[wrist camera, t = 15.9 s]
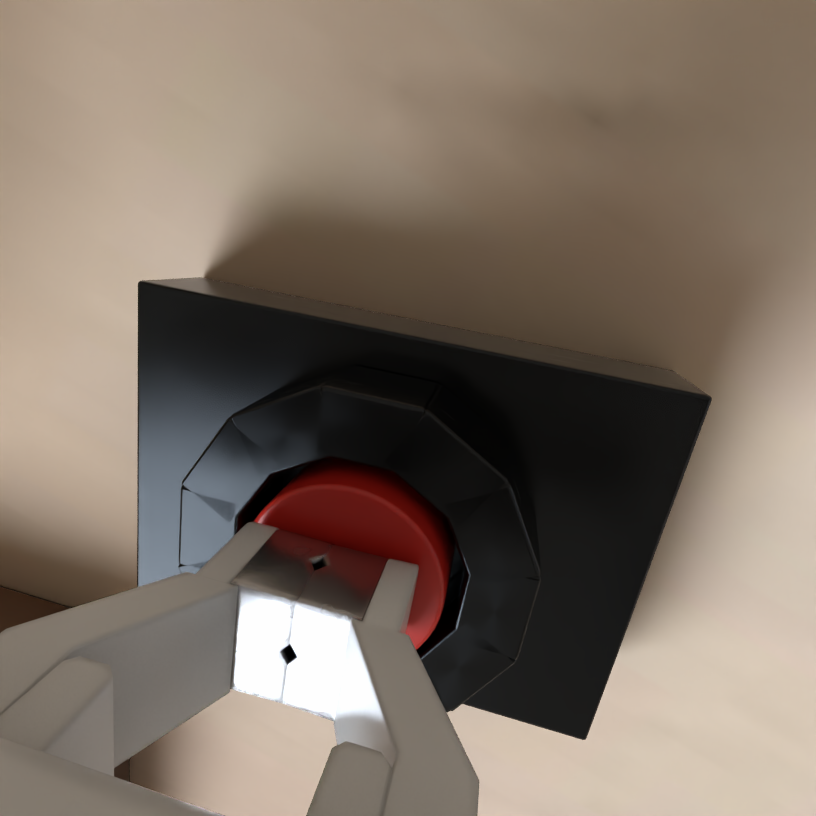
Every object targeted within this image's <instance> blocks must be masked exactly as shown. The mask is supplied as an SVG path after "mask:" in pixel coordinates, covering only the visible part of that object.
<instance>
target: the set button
mask: <svg viewBox="0 0 816 816" xmlns="http://www.w3.org/2000/svg"><path fill="white" fill-rule="evenodd" d="M254 522H258V523H261V524H265V525H269V526H273V527H277V528H279V529H283V530H287V531H290V532H294V533H297V534H301V535H304V536H308V537H311V538H314V539H318V540H321V541H325V542H328V543H332V544H335V545H336V546H340V547H344V548H348V549H352V550H356V551H360V552H364V553H368V554H372V555H376V556H380V557H384V558H388V559H390V558H391V559H395V560H400V561H404V562H408V563H413V564H417V565H418V566H419V571H418V577H417V582H416V587H415V592H414V596H413V601H412V606H411V610H410V615H409V620H408V624H407V629H406V633H405V634H406V635H409V636H410V639H411V641H412V643H413V645H414V647H415V649H418V648H419V647H420V646H421V645H422V644H423V643H424V642H425V641H426V640H427V639H428V638H429V636H430V635H431V634H432V632H433V631H434V630H435V628H436V626H437V624H438V622H439V620H440V617H441V614H442V611H443V608H444V603H445V597H446V592H447V587H448V582H449V577H450V572H451V567H452V562H453V557H454V550H455V541H454V538H453V535H452V532H451V530H450V527H449V524H448V522H447V519H446V517H445V516H444V515H443V514H442V513H440V512H439V511H438V510H437V509H436V508H435V507H433V506H432V505H431V504H430V503H429V502H428V501H426V500H425V499H424V498H423V497H422V496H421V495H419V494H418V493H417V492H416V491H415V490H414V489H412V488H411V487H410V486H409V485H408V484H407V483H405V482H404V481H403V480H402V479H401V478H400V477H399V476H397V475H396V474H395V473H394V472H390V471H386V470H382V469H378V468H374V467H369V466H365V465H361V464H357V463H353V462H349V461H345V460H340V459H336V458H332V457H331V458H327V459H324V460H320V461H317V462H313V463H310V464H308V465H307V466H306V467H304V468H303V469H302V470H301V471H300V472H299V473H298V474H297V475H296V476H295V477H294V478H293V479H292V480H291V481H290V482H289V483H288V484H287V485H286V486H285V487H284V488H283V489H282V490H281V491H280V492H279V493H278V494H277V495H276V496H275V497H274V498H273V499H272V500H271V501H270V502H269V503H268V504H267V505H266V506H265V507H264V508H263V510H262V511H261V512H260V513H259V514H258V516H257V517H256V519H255V520H254Z"/></svg>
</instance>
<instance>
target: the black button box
mask: <svg viewBox="0 0 816 816" xmlns="http://www.w3.org/2000/svg"><path fill="white" fill-rule="evenodd" d="M711 400H712V398H711V396H709V395H708V394H706V393H705V392H703V391H702V390H700V389H699V388H697V387H696V386H695V385H693V384H692V383H690V382H689V381H687V380H686V379H684V378H683V377H681V376H680V375H679V374H677V373H676V372H674V371H672V370H667V369H662V368H657V367H652V366H647V365H642V364H637V363H632V362H627V361H622V360H617V359H611V358H606V357H601V356H596V355H591V354H586V353H581V352H576V351H571V350H566V349H561V348H556V347H551V346H546V345H541V344H536V343H531V342H525V341H520V340H515V339H510V338H505V337H500V336H495V335H490V334H485V333H480V332H475V331H470V330H465V329H460V328H455V327H450V326H445V325H439V324H434V323H429V322H424V321H419V320H414V319H409V318H404V317H399V316H394V315H389V314H384V313H379V312H374V311H369V310H364V309H359V308H353V307H348V306H343V305H338V304H333V303H328V302H323V301H318V300H313V299H308V298H303V297H298V296H293V295H288V294H283V293H278V292H273V291H267V290H262V289H257V288H252V287H247V286H242V285H237V284H232V283H227V282H222V281H217V280H212V279H207V278H202V277H199V278H181V279H164V280H146V281H140V282H139V283H138V539H137V587H140V586H143V585H146V584H149V583H153V582H156V581H159V580H162V579H165V578H168V577H171V576H175V575H178V574H181V573H184V572H189V573H193V574H196V573H197V572H198V571H199V570H200V569H201V568H202V567H203V566H204V565H205V564H206V563H207V562H208V561H209V560H210V559H211V558H212V557H213V556H214V555H215V554H216V553H217V552H218V551H219V550H220V549H221V548H222V547H223V546H224V545H225V544H226V543H227V542H228V541H229V540H230V539H231V538H232V537H233V536H234V535H235V534H236V533H237V532H238V531H239V530H240V529H241V528H242V527H243V526H244V525H245V524H247V523H249V522H254V520H255V519H256V517H257V516H258V514H259V513H260V512H261V511H262V510H263V508H264V507H265V506H266V505H267V504H268V503H269V502H270V501H271V500H272V499H273V498H274V497H275V496H276V495H277V494H278V493H279V492H280V491H281V490H282V489H283V488H284V487H285V486H286V485H287V484H288V483H289V482H290V481H291V480H292V479H293V478H294V477H295V476H296V475H297V474H298V473H299V472H300V471H301V470H302V469H303V468H304V467H306V466H307V465H308V464H310V463H313V462H317V461H320V460H324V459H327V458H331V457H332V458H336V459H340V460H345V461H349V462H353V463H357V464H361V465H365V466H369V467H374V468H378V469H382V470H386V471H390V472H394V473H395V474H396V475H397V476H399V477H400V478H401V479H402V480H403V481H404V482H405V483H407V484H408V485H409V486H410V487H411V488H412V489H414V490H415V491H416V492H417V493H418V494H419V495H421V496H422V497H423V498H424V499H425V500H426V501H428V502H429V503H430V504H431V505H432V506H433V507H435V508H436V509H437V510H438V511H439V512H440V513H442V514H443V515H444V516H445V517H446V519H447V522H448V524H449V527H450V530H451V532H452V535H453V538H454V541H455V550H454V557H453V562H452V567H451V572H450V577H449V582H448V587H447V592H446V597H445V603H444V608H443V611H442V614H441V617H440V620H439V622H438V624H437V626H436V628H435V630H434V631H433V632H432V634H431V635H430V636H429V638H428V639H427V640H426V641H425V642H424V643H423V644H422V645H421V646H420V647H419V648H418V649H416V651H417V653H418V655H419V657H420V659H421V661H422V663H423V665H424V667H425V670H426V672H427V674H428V676H429V678H430V680H431V682H432V684H433V686H434V688H435V690H436V692H437V694H438V696H439V698H440V701H441V703H442V705H443V707H444V709H445V711H446V712H449V711H450V710H451V711H453V710H455V709H456V708H457V707H458V706H460V705H461V704H465V705H468V706H472V707H475V708H478V709H482V710H485V711H488V712H492V713H495V714H498V715H502V716H505V717H508V718H512V719H515V720H518V721H522V722H525V723H528V724H532V725H535V726H538V727H542V728H545V729H548V730H552V731H555V732H559V733H562V734H565V735H569V736H572V737H575V738H579V739H582V740H585V739H586V738H587V735H588V732H589V730H590V727H591V724H592V721H593V719H594V716H595V713H596V711H597V708H598V705H599V703H600V700H601V697H602V694H603V692H604V689H605V686H606V684H607V681H608V678H609V676H610V673H611V670H612V667H613V665H614V662H615V659H616V657H617V654H618V651H619V649H620V646H621V643H622V640H623V638H624V635H625V632H626V630H627V627H628V624H629V622H630V619H631V616H632V614H633V611H634V608H635V605H636V603H637V600H638V597H639V595H640V592H641V589H642V587H643V584H644V581H645V578H646V576H647V573H648V570H649V568H650V565H651V562H652V560H653V557H654V554H655V551H656V549H657V546H658V543H659V541H660V538H661V535H662V533H663V530H664V527H665V524H666V522H667V519H668V516H669V514H670V511H671V508H672V506H673V503H674V500H675V498H676V495H677V492H678V489H679V487H680V484H681V481H682V479H683V476H684V473H685V471H686V468H687V465H688V462H689V460H690V457H691V454H692V452H693V449H694V446H695V444H696V441H697V438H698V435H699V433H700V430H701V427H702V425H703V422H704V419H705V417H706V414H707V411H708V408H709V406H710V403H711Z"/></svg>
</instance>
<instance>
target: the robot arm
mask: <svg viewBox="0 0 816 816" xmlns="http://www.w3.org/2000/svg"><path fill="white" fill-rule="evenodd" d="M418 571H419V566H418V565H417V564H413V563H408V562H404V561H400V560H395V559H391V558H390V559H388V558H384V557H380V556H376V555H372V554H368V553H364V552H360V551H356V550H352V549H348V548H344V547H340V546H336V545H335V544H332V543H328V542H325V541H321V540H318V539H314V538H311V537H308V536H304V535H301V534H297V533H294V532H290V531H287V530H283V529H279V528H277V527H273V526H269V525H265V524H261V523H258V522H249V523H247V524H245V525H244V526H243V527H242V528H241V529H240V530H239V531H238V532H237V533H236V534H235V535H234V536H233V537H232V538H231V539H230V540H229V541H228V542H227V543H226V544H225V545H224V546H223V547H222V548H221V549H220V550H219V551H218V552H217V553H216V554H215V555H214V556H213V557H212V558H211V559H210V560H209V561H208V562H207V563H206V564H205V565H204V566H203V567H202V568H201V569H200V570H199V571H198V572H197V573H196V574H193V573H189V572H184V573H181V574H178V575H175V576H171V577H168V578H165V579H162V580H159V581H156V582H153V583H149V584H146V585H143V586H140V587H137V588H134V589H130V590H127V591H124V592H121V593H118V594H115V595H111V596H108V597H105V598H102V599H99V600H96V601H92V602H89V603H86V604H83V605H80V606H77V607H73V608H70V609H67V610H64V611H61V612H58V613H54V614H51V615H48V616H45V617H42V618H39V619H35V620H32V621H29V622H26V623H23V624H20V625H16V626H13V627H10V628H7V629H5V630H4V631H2V632H1V633H0V816H225V815H222V814H219V813H216V812H213V811H210V810H208V809H205V808H202V807H199V806H196V805H193V804H191V803H188V802H185V801H182V800H179V799H176V798H173V797H171V796H168V795H165V794H162V793H159V792H156V791H154V790H151V789H148V788H145V787H142V786H139V785H137V784H134V783H131V782H128V781H125V780H122V779H119V778H117V777H114V768H115V767H117V766H118V765H120V764H121V763H123V762H124V761H126V760H127V759H129V758H130V757H132V756H133V755H135V754H136V753H138V752H140V751H141V750H143V749H144V748H146V747H147V746H149V745H150V744H152V743H153V742H155V741H156V740H158V739H159V738H161V737H162V736H164V735H165V734H167V733H168V732H170V731H171V730H173V729H174V728H176V727H178V726H179V725H181V724H182V723H184V722H185V721H187V720H188V719H190V718H191V717H193V716H194V715H196V714H197V713H199V712H200V711H202V710H203V709H205V708H206V707H208V706H209V705H211V704H213V703H214V702H216V701H217V700H219V699H220V698H222V697H223V696H225V695H226V694H228V693H229V692H230V689H233V690H237V691H240V692H244V693H247V694H251V695H255V696H258V697H262V698H265V699H269V700H272V701H276V702H280V703H283V704H286V705H289V706H292V707H294V708H297V709H300V710H303V711H306V712H309V713H312V714H315V715H317V716H320V717H323V718H326V719H329V720H332V721H334V729H335V734H336V740H337V746H335V747H333V748H332V750H331V752H330V755H329V758H328V760H327V763H326V765H325V768H324V771H323V773H322V776H321V778H320V781H319V784H318V786H317V789H316V792H315V794H314V797H313V799H312V802H311V805H310V807H309V810H308V812H307V815H306V816H477V812H478V795H479V779H478V777H477V775H476V773H475V771H474V769H473V767H472V765H471V762H470V760H469V758H468V756H467V754H466V752H465V750H464V748H463V746H462V744H461V742H460V740H459V738H458V736H457V734H456V731H455V729H454V727H453V725H452V723H451V721H450V719H449V717H448V715H447V713H446V711H445V709H444V707H443V705H442V703H441V701H440V698H439V696H438V694H437V692H436V690H435V688H434V686H433V684H432V682H431V680H430V678H429V676H428V674H427V672H426V670H425V667H424V665H423V663H422V661H421V659H420V657H419V655H418V653H417V651H416V649H415V647H414V645H413V643H412V641H411V639H410V636H409V635H406V634H405V633H406V629H407V624H408V620H409V615H410V610H411V606H412V601H413V596H414V592H415V587H416V582H417V577H418Z"/></svg>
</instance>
